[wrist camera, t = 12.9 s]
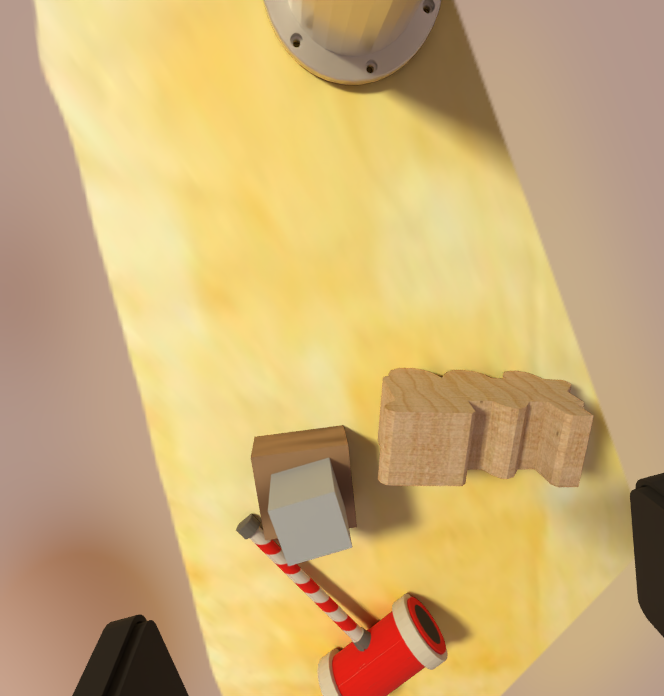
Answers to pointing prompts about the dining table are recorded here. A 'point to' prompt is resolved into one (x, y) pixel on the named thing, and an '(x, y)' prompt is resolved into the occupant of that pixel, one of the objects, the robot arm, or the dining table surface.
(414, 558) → the dining table surface
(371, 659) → the toy hammer
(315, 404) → the dining table surface
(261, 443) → the walnut block
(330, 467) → the slate brick
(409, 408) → the toy train
